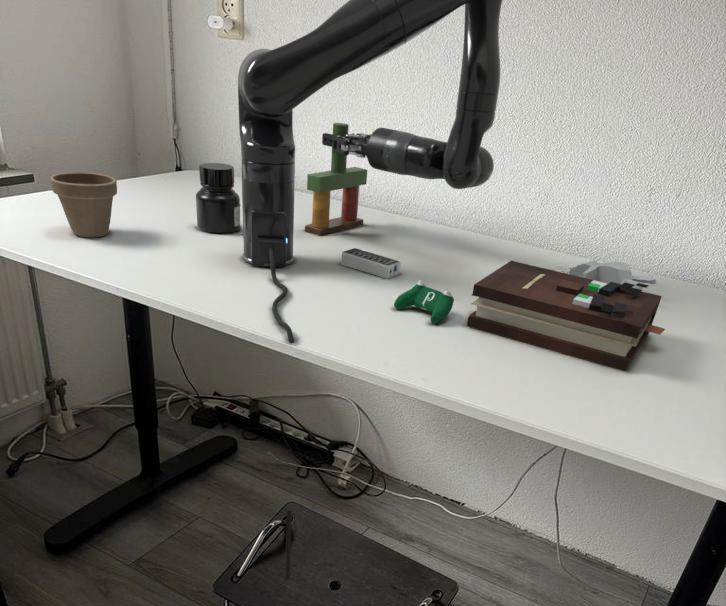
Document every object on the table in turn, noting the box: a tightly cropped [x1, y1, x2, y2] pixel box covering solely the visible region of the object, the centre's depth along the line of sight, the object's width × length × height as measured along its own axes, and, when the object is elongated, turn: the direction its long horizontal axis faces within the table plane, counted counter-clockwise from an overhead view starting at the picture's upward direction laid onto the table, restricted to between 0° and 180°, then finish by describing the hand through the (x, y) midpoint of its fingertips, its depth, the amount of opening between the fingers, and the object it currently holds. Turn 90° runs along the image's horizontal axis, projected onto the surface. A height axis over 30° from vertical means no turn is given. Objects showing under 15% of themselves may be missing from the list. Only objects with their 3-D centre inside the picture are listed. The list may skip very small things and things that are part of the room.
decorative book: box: [466, 260, 666, 372], centre depth 105 cm, size 19×8×30 cm
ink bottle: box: [195, 162, 242, 234], centre depth 136 cm, size 10×9×12 cm
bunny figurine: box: [569, 260, 657, 291], centre depth 125 cm, size 10×5×15 cm
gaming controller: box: [393, 279, 455, 325], centre depth 107 cm, size 9×4×6 cm
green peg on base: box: [306, 122, 368, 193], centre depth 139 cm, size 16×4×12 cm, turn 143°
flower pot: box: [50, 172, 118, 238], centre depth 126 cm, size 12×11×10 cm
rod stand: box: [304, 185, 364, 237], centre depth 144 cm, size 15×4×8 cm, turn 143°
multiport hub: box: [340, 247, 401, 279], centre depth 124 cm, size 4×11×2 cm, turn 53°
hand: (329, 138), depth 138 cm, fingers closed on green peg on base, 3 cm apart
